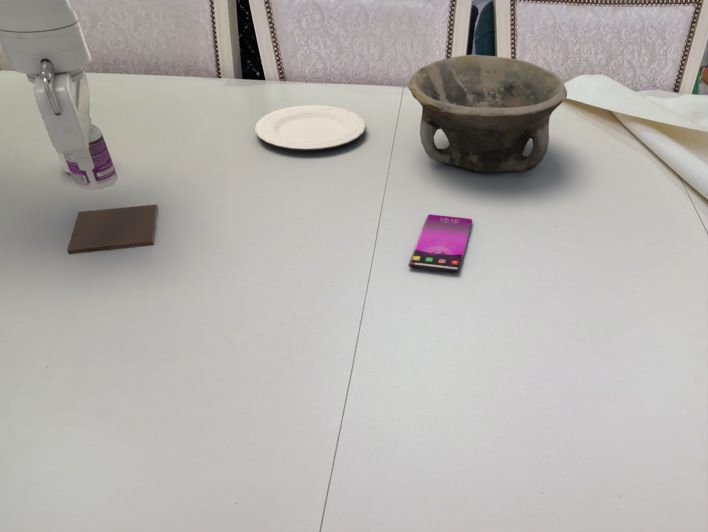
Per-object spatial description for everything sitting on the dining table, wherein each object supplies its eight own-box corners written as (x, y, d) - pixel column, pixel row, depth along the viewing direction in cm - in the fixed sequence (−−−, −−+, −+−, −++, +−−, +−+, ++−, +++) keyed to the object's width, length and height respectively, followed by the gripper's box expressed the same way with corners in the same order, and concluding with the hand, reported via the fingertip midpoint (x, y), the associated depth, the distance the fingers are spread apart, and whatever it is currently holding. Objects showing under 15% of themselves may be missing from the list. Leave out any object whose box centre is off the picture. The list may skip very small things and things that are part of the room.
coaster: (68, 254, 86) (66, 250, 85) (79, 215, 93) (78, 211, 93) (153, 244, 88) (152, 241, 88) (157, 207, 96) (156, 204, 96)
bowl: (407, 194, 103) (405, 104, 93) (412, 130, 123) (411, 50, 113) (564, 198, 105) (579, 110, 95) (544, 135, 125) (555, 56, 115)
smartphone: (407, 269, 87) (407, 264, 86) (427, 217, 98) (427, 212, 97) (458, 276, 86) (458, 270, 85) (472, 222, 97) (472, 217, 97)
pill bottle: (116, 171, 89) (92, 103, 82) (120, 187, 85) (96, 117, 79) (74, 177, 86) (46, 108, 80) (77, 194, 83) (48, 123, 77)
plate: (347, 163, 111) (347, 153, 109) (237, 150, 112) (235, 140, 111) (378, 120, 126) (377, 110, 125) (280, 109, 128) (279, 100, 127)
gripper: (74, 73, 68) (115, 188, 78) (77, 24, 82) (112, 126, 91) (8, 79, 66) (58, 195, 75) (23, 27, 80) (64, 131, 89)
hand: (88, 157), depth 83 cm, fingers closed on pill bottle, 5 cm apart
